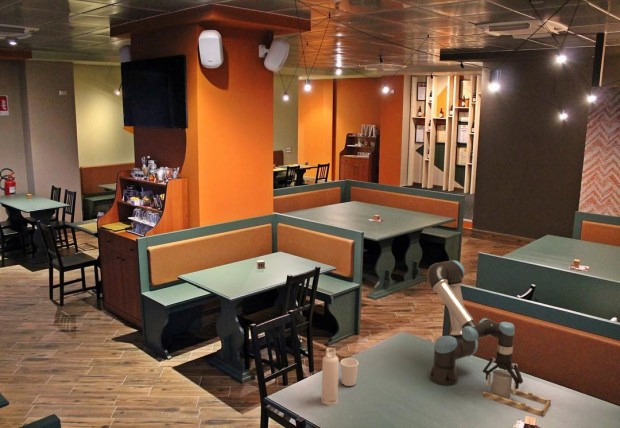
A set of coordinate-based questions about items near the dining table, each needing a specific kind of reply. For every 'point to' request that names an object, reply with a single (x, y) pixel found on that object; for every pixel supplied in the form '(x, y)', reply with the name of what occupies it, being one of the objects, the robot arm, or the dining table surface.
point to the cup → (349, 371)
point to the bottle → (330, 377)
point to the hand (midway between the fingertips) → (501, 389)
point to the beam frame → (528, 395)
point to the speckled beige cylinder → (501, 383)
